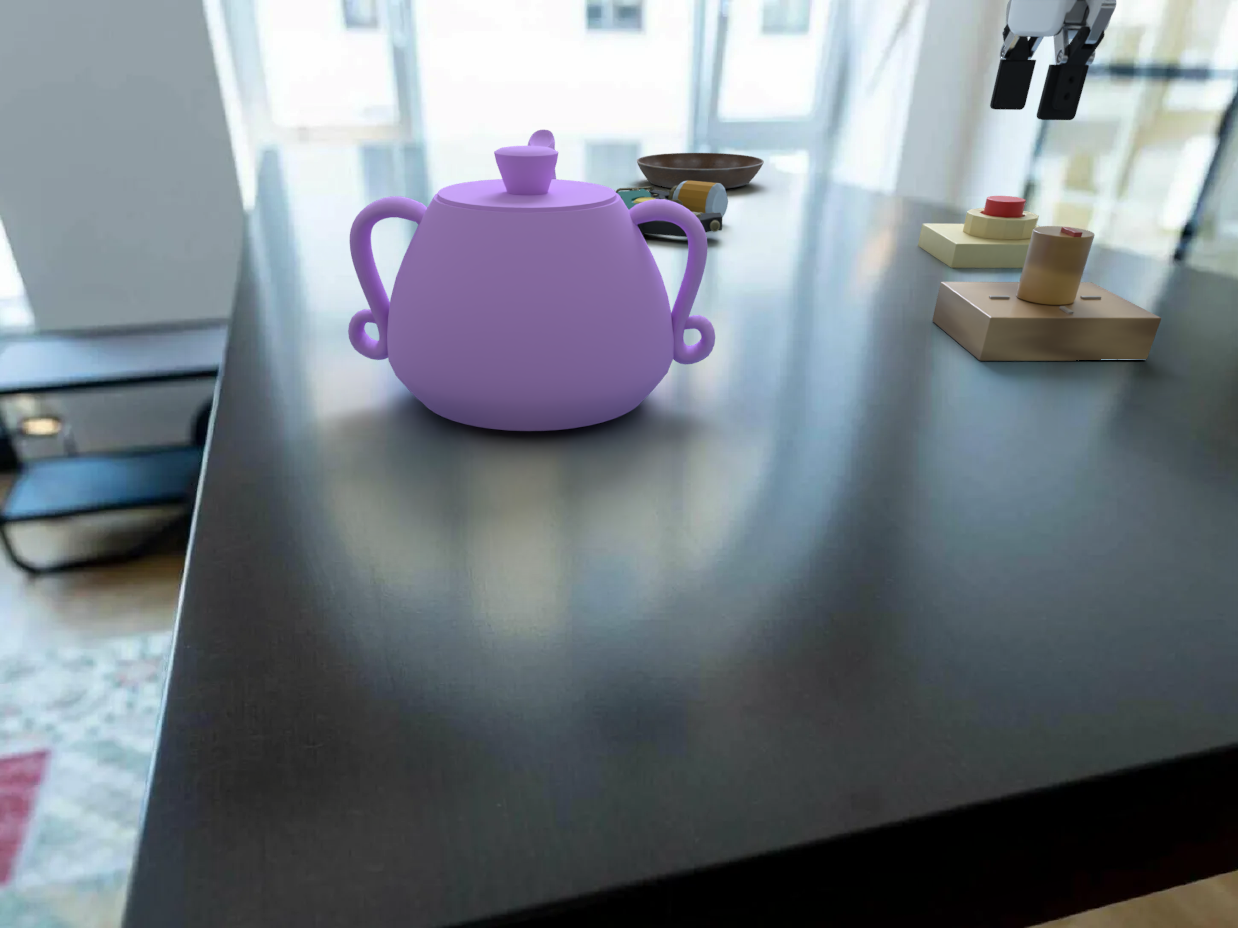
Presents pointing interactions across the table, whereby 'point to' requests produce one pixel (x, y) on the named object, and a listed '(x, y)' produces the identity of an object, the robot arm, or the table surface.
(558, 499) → the table surface
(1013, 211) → the button
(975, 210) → the button box
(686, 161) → the plant saucer
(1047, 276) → the dial knob
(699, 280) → the purple sugar bowl
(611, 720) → the table surface
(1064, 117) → the robot arm
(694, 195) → the spray gun
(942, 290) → the panel
